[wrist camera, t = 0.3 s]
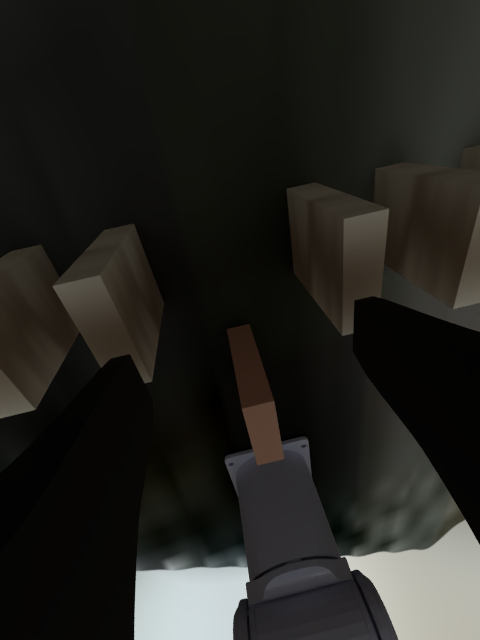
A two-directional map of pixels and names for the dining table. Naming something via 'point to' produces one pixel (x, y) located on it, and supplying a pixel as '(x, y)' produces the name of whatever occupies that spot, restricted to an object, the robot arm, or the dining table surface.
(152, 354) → the domino
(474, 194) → the domino
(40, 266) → the domino
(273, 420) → the terracotta domino
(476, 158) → the domino
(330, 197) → the domino
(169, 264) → the dining table surface
